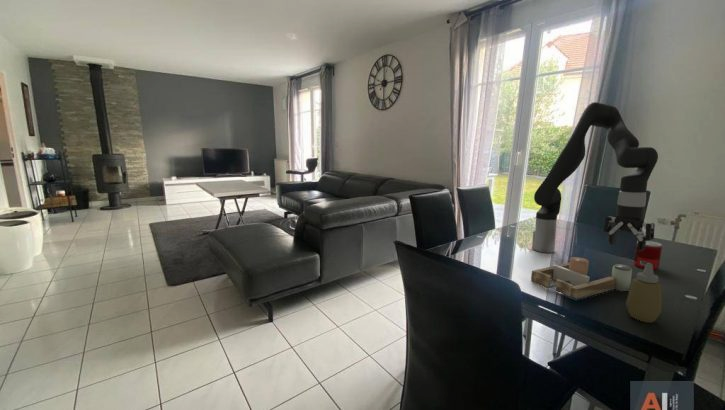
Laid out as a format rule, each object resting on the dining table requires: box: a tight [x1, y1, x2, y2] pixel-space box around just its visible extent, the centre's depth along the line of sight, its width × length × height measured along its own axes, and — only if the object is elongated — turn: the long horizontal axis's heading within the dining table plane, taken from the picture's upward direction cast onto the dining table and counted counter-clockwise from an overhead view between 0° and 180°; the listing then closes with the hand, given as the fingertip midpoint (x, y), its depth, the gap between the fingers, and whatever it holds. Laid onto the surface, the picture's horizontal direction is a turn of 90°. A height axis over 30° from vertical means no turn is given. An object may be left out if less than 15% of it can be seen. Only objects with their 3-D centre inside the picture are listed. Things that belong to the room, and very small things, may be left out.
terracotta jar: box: [569, 256, 590, 276], centre depth 117 cm, size 6×6×10 cm
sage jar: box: [611, 263, 633, 292], centre depth 112 cm, size 6×6×9 cm
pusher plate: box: [544, 264, 591, 290], centre depth 114 cm, size 13×13×6 cm
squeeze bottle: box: [625, 263, 663, 323], centre depth 92 cm, size 8×8×18 cm
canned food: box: [633, 240, 663, 271], centre depth 130 cm, size 8×8×11 cm
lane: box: [530, 261, 616, 299], centre depth 116 cm, size 18×21×5 cm
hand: (625, 247), depth 110 cm, fingers open, 8 cm apart
